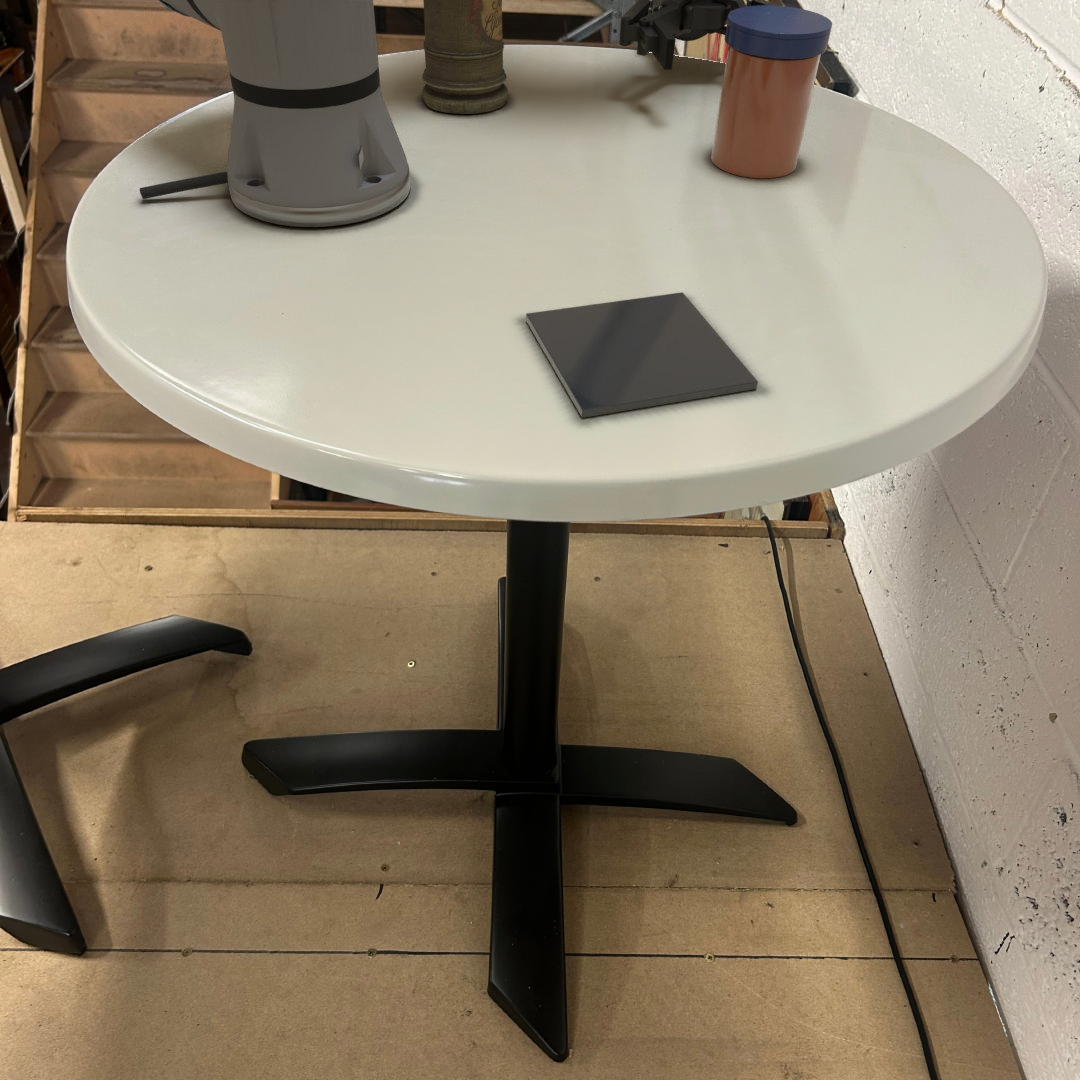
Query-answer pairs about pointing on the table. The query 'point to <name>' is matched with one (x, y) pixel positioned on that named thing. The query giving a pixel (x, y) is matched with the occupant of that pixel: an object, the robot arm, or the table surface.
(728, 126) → the jar
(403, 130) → the table surface
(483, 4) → the container
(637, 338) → the coaster
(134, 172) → the table surface
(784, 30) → the lid
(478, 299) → the table surface
